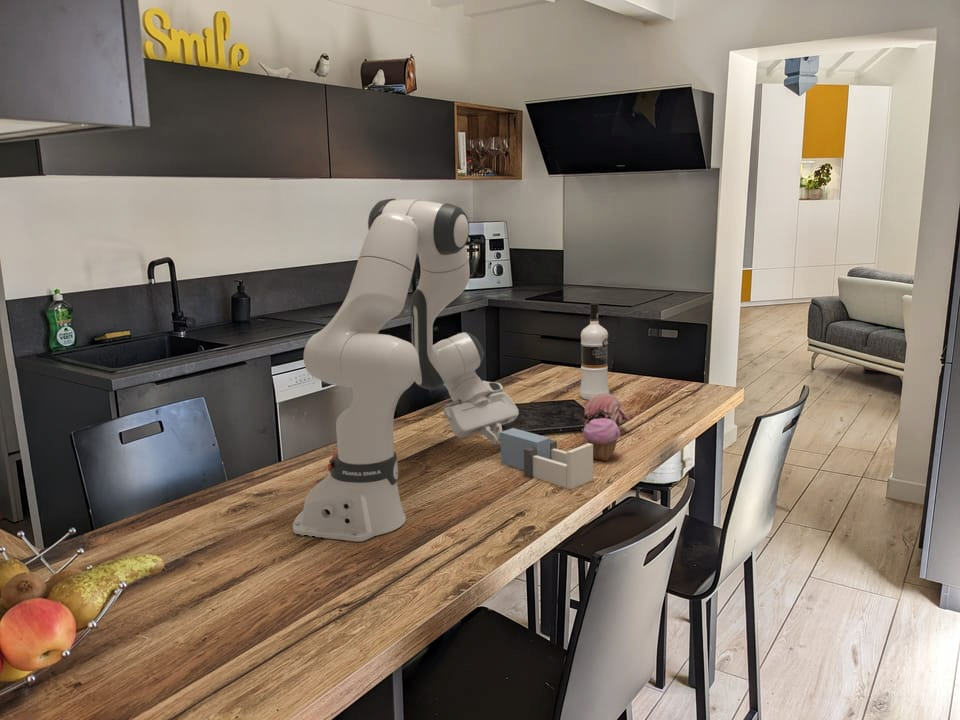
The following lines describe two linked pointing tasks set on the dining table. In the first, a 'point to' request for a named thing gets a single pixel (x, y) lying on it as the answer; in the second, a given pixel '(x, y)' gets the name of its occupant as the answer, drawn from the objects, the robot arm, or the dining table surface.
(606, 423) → the cupcake
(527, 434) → the grey rectangular box
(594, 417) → the toy
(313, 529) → the robot arm
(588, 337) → the vodka
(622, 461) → the dining table surface
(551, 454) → the frame
